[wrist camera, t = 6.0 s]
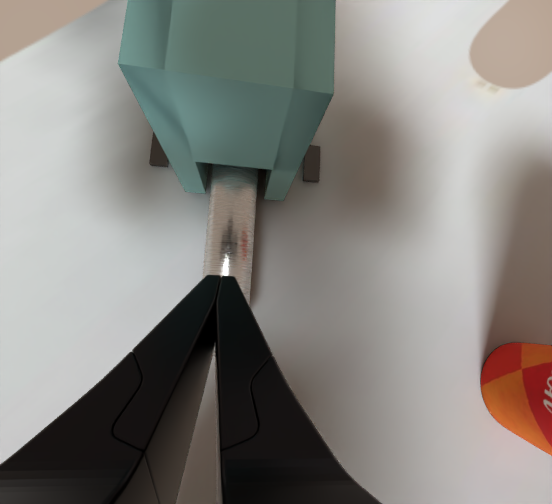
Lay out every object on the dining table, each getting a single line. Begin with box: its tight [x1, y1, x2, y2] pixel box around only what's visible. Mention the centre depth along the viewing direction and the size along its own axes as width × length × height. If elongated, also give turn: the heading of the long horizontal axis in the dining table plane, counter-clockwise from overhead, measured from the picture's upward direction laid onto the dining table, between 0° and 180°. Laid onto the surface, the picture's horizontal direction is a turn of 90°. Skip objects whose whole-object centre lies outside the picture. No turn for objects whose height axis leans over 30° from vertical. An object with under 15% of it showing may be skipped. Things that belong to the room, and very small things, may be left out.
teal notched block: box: [118, 0, 336, 201], centre depth 13 cm, size 6×6×10 cm
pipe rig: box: [149, 132, 320, 355], centre depth 15 cm, size 18×11×5 cm, turn 177°
